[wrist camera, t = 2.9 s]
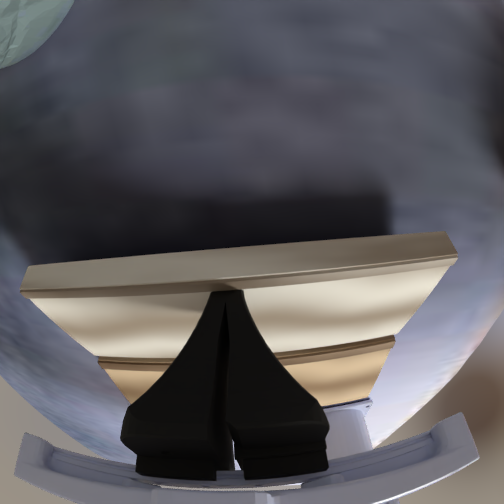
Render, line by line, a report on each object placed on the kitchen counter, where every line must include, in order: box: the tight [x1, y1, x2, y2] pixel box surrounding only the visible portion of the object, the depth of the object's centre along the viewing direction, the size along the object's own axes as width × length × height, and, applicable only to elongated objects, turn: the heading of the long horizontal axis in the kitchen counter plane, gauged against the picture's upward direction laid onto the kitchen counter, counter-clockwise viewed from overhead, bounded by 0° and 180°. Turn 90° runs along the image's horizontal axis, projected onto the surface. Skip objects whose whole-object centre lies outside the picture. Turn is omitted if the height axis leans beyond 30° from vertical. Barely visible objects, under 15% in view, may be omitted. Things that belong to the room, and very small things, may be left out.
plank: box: [20, 231, 458, 358], centre depth 15 cm, size 9×22×2 cm, turn 93°
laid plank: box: [98, 335, 395, 406], centre depth 22 cm, size 9×22×2 cm, turn 94°
